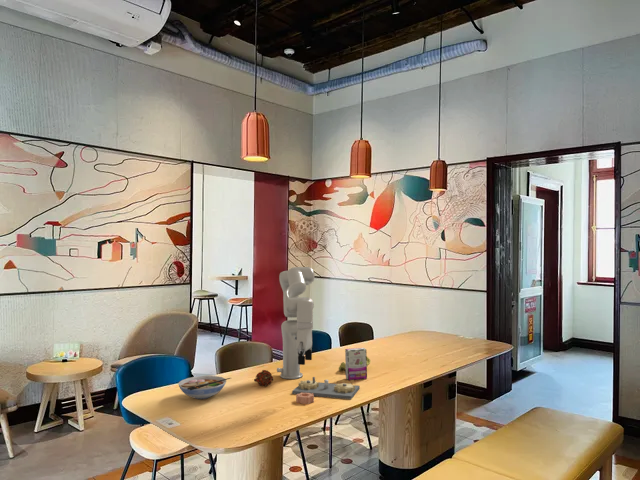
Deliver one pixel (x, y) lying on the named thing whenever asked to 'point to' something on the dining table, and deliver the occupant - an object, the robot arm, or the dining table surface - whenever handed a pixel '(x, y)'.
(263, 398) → the dining table surface
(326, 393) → the gear board
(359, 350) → the candy bar box
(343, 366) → the plastic component
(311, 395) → the idler gear
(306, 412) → the dining table surface
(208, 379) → the ramen bowl
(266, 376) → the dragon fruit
